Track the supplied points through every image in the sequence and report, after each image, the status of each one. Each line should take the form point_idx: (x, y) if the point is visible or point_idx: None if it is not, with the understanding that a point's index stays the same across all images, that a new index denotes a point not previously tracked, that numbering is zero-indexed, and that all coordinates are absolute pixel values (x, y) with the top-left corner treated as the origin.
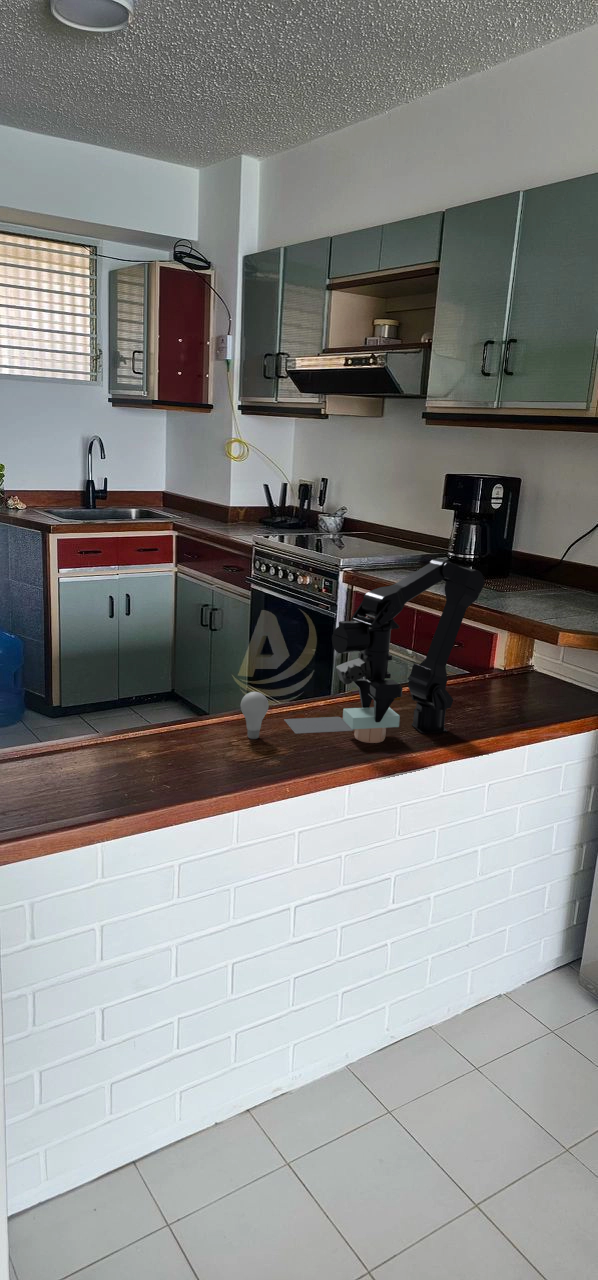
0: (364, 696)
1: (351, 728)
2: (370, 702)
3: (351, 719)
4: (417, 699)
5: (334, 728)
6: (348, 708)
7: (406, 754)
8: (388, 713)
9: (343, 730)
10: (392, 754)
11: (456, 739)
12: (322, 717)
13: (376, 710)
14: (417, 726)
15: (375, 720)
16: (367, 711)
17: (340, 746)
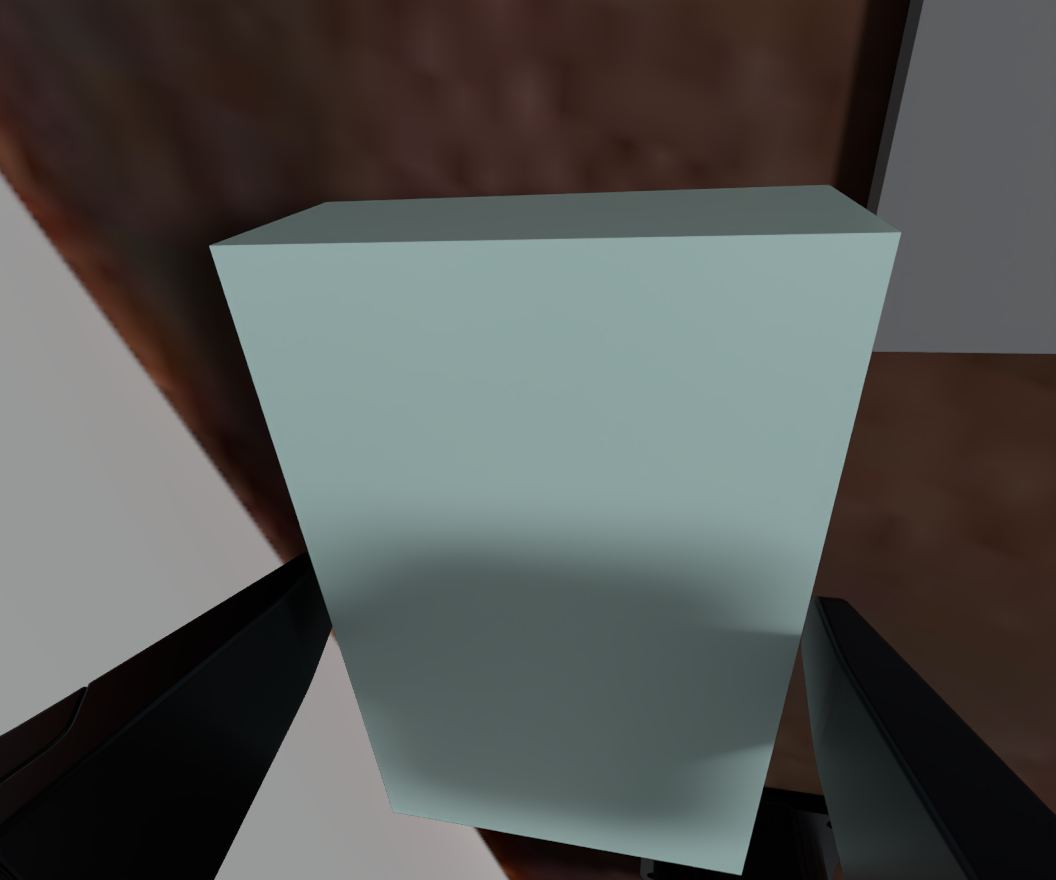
0: (922, 877)
1: (930, 350)
2: (832, 803)
3: (329, 230)
4: None
5: (1045, 106)
6: (859, 364)
7: (280, 545)
8: (473, 770)
9: (897, 221)
10: (264, 462)
11: (536, 845)
12: None
13: (110, 681)
14: None
15: (293, 560)
16: (586, 609)
17: (427, 20)
